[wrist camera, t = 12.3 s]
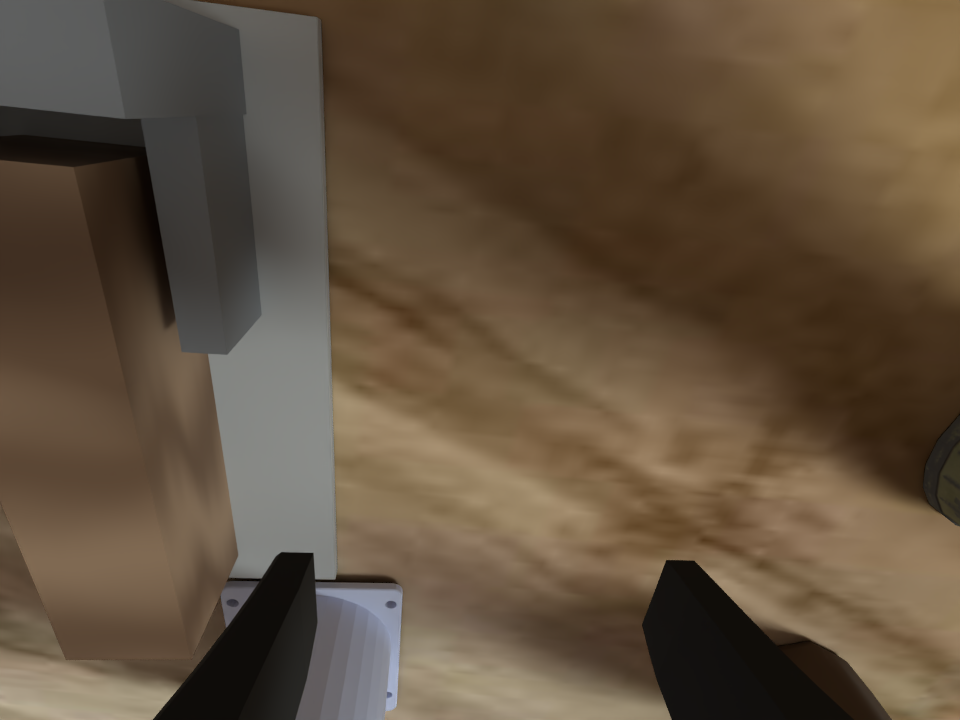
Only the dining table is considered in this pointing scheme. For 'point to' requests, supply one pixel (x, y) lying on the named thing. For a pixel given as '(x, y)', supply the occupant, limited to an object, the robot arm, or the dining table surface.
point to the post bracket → (215, 218)
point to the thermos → (945, 474)
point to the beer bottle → (836, 680)
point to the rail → (104, 409)
